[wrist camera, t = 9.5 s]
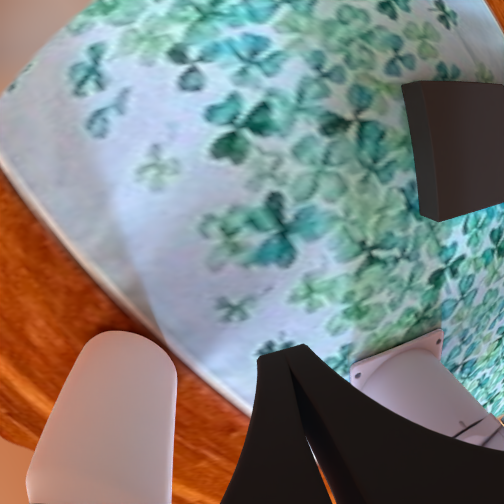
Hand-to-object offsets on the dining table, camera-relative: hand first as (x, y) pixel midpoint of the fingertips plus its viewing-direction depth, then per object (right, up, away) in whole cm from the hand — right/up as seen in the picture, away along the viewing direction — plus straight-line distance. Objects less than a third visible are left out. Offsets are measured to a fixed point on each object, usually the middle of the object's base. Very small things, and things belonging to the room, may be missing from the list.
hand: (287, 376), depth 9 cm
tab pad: (+12, +10, +8) cm, 18 cm away
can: (-9, -4, +10) cm, 14 cm away
